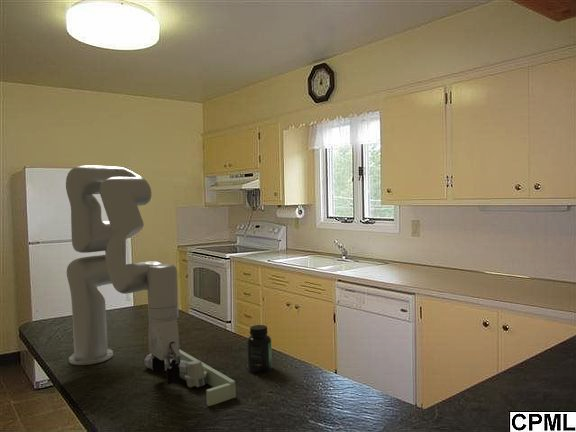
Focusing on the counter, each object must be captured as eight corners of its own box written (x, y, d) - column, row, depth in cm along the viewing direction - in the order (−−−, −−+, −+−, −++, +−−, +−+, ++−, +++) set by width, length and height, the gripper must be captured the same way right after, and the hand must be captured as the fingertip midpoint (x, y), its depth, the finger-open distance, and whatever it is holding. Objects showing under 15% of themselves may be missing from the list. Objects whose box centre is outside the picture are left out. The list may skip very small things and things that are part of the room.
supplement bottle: (276, 369, 129) (275, 327, 128) (256, 375, 124) (255, 332, 124) (263, 363, 134) (261, 322, 133) (243, 368, 130) (241, 327, 129)
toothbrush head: (155, 350, 136) (209, 356, 119) (158, 373, 135) (212, 382, 119) (139, 355, 132) (192, 362, 115) (142, 379, 131) (196, 388, 115)
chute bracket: (150, 364, 136) (150, 351, 135) (173, 358, 140) (172, 345, 140) (209, 406, 107) (208, 389, 107) (235, 397, 111) (235, 381, 111)
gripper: (137, 308, 123) (140, 371, 124) (162, 321, 110) (165, 391, 110) (164, 304, 128) (166, 364, 129) (191, 316, 114) (193, 383, 115)
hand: (165, 376), depth 119 cm, fingers open, 9 cm apart
